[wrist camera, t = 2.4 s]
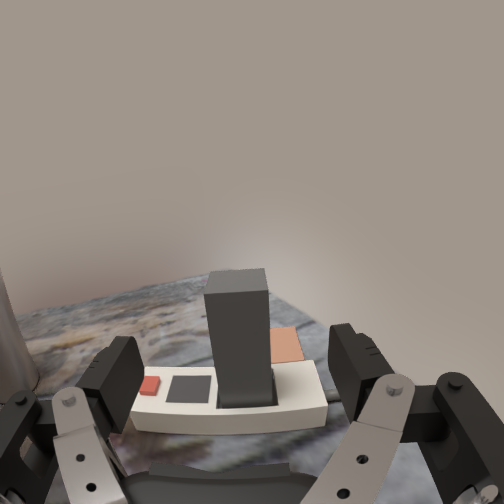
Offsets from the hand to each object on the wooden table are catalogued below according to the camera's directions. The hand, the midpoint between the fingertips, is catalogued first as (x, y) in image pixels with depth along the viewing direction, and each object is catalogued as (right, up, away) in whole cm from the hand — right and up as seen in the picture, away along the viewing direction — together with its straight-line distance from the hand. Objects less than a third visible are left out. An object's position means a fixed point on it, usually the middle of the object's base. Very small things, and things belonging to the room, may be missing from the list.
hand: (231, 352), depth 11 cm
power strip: (+1, -12, +15) cm, 19 cm away
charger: (0, -10, +15) cm, 18 cm away
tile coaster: (+3, -8, +26) cm, 27 cm away
